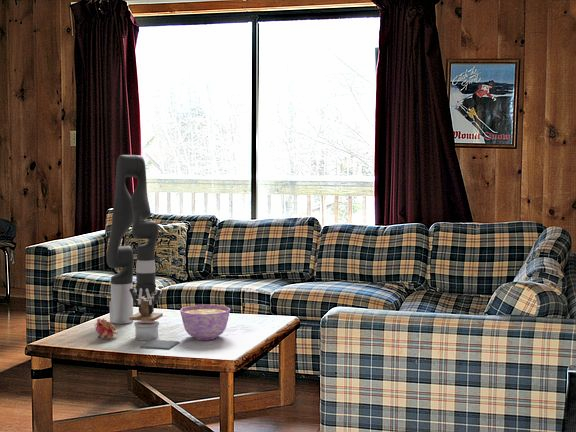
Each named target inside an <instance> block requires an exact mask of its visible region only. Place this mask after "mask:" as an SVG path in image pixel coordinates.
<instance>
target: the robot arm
mask: <svg viewBox="0 0 576 432" xmlns="http://www.w3.org/2000/svg"><path fill="white" fill-rule="evenodd" d="M146 171H147V167H146V162H145V158H144V157H143V156H142V155H139V154H138V155H137V154H120V155H118V157H117V161H116V175H115V191H114V192H115V193H114V199H113V200H114V201H113V207H112V216H111V227H110V236H109V239H108V245H107V251H106V265H107V266H108V267H109V268H111V269H117V268H118V269H119V268H122V269H121V270H120V271H119V272H118V273H116V274H114V275H112V276H111V277H110V292H111V293H110V295H111V296H110V299H111V300H109V322H110V323H112V324H117V325H122V324H123V325H124V324H131V323H134V320H129V317H131V316H133V315H134V303H136V304H137V305H138V313H139V312H140V314H141V301H142V300H144V299H145V297H147V300H148V301H149V314H152V313H154V312H155V310H154V309H155V305H156V304H158V303H159V300H160V298H161V296H162V294H163V292H164V291H163V289H162V288H161V289H160V288H158V287H157V284H156V263H155V262H156V261H155V257H156V255H155V248H156V242H157V240H158V236H159V232H160V228H159V224H158V222H156V221H154V220H147V219H149V218H150V217H151V215H152V214H151V208H150V201H149V198H148V188H147V186H148V185H147V172H146ZM127 178H137V184H136V187H135V188H134V191H133V193H132V195H131V193H130V192H129V190H128V188H127V185H126V179H127ZM130 228H131V234H132V236H133V238H135V239H136V240H147V241H146V243H143V244H139V245H138V246H137V247H136V262H135V263H136V265H135V266H136V269H135V271H136V272H135V273H136V275H135V276H136V277H135V279H136V280H135V281H136V284H135V286H134V287H133V285H134V283H133V278H134V257H135V256H134V251H133V248H132V247H131V246H130V245H120V243H121V240H122V238H123V237H124V236H125V234H126V233H127V232H128V231H129V229H130ZM137 292H138V293H137ZM154 293H155V297H154Z"/></svg>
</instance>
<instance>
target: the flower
mask: <svg viewBox="0 0 576 432" xmlns="http://www.w3.org/2000/svg"><path fill="white" fill-rule="evenodd" d="M94 327H95V332H96V333H97V334H98V336H97V339H99V340H100V338H103V339H105V340H108V339H110V338H113V337H114V335H118V334H119V332H118V331H115V330H116V325H114V323H110V321H107V320H106V319H105V318H102V319H101V318H98V319H96V323H95V324H94Z"/></svg>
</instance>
